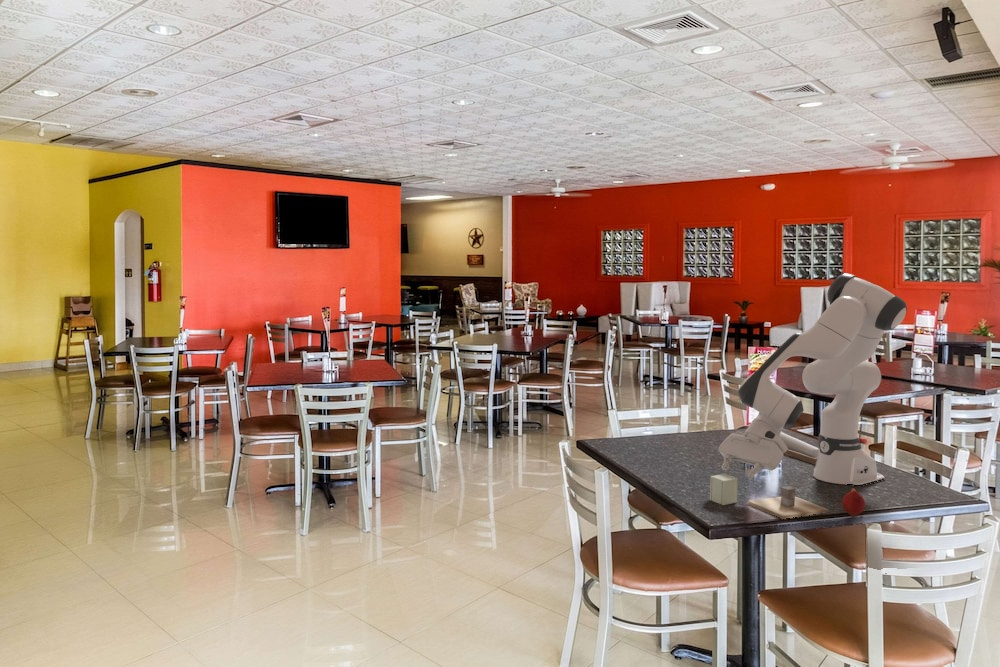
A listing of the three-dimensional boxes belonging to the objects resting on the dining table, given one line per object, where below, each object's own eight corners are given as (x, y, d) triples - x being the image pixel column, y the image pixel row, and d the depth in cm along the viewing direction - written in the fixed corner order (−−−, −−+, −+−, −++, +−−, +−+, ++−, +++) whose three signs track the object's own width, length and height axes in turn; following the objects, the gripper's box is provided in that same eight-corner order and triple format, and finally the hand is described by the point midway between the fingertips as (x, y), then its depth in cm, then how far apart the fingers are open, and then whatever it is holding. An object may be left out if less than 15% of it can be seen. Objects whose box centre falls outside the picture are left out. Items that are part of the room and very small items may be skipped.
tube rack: (782, 443, 290) (782, 438, 290) (838, 461, 264) (839, 456, 264) (759, 446, 286) (760, 441, 286) (815, 464, 260) (815, 458, 260)
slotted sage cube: (723, 497, 223) (723, 473, 222) (736, 502, 218) (737, 478, 218) (709, 499, 220) (710, 476, 220) (723, 505, 216) (724, 480, 215)
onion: (857, 513, 209) (859, 485, 209) (868, 520, 204) (870, 491, 203) (837, 513, 209) (838, 485, 208) (847, 520, 203) (849, 491, 203)
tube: (827, 450, 263) (787, 432, 288) (814, 447, 262) (775, 429, 287) (823, 464, 264) (783, 445, 288) (810, 461, 263) (771, 443, 287)
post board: (791, 498, 222) (792, 478, 222) (827, 512, 209) (828, 491, 209) (748, 504, 217) (749, 484, 216) (782, 519, 204) (783, 498, 203)
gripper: (729, 424, 232) (705, 458, 228) (782, 436, 214) (757, 474, 210) (738, 436, 234) (715, 471, 230) (792, 450, 216) (768, 487, 212)
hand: (735, 472), depth 220 cm, fingers open, 8 cm apart
